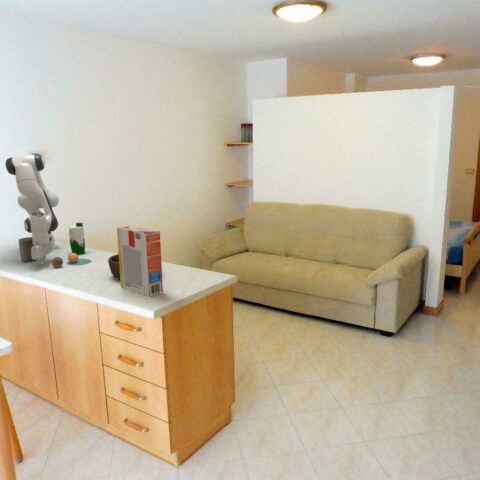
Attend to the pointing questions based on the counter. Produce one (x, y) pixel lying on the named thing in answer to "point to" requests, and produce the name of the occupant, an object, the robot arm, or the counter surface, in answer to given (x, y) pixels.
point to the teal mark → (80, 262)
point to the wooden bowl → (114, 265)
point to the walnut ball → (57, 262)
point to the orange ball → (73, 258)
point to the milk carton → (77, 239)
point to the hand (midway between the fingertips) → (43, 263)
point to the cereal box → (140, 260)
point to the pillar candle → (26, 249)
